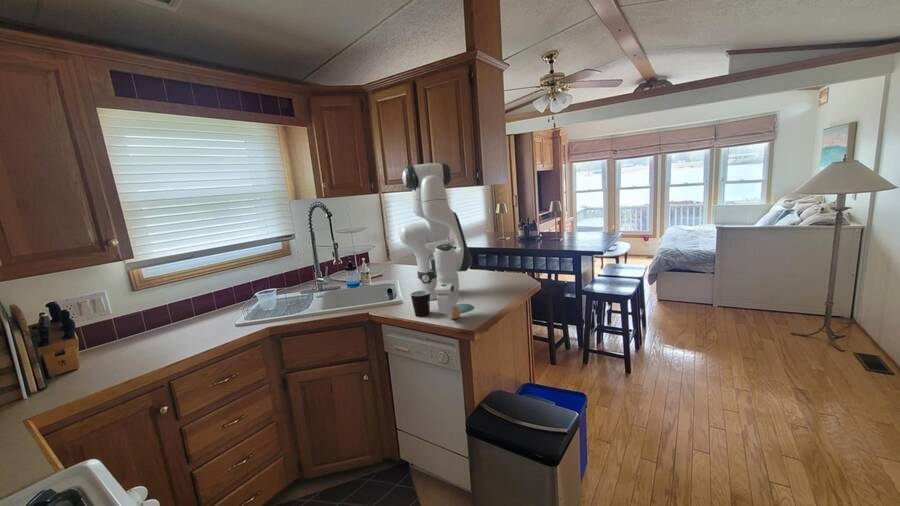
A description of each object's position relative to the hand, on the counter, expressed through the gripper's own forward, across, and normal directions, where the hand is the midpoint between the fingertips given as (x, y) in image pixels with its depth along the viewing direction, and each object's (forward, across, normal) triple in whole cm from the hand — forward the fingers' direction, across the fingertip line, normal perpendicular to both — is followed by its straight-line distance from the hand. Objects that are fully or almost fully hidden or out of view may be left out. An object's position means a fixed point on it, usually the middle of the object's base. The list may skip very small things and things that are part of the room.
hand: (451, 317), depth 151 cm
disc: (+2, -17, 0) cm, 17 cm away
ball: (-1, -4, 0) cm, 4 cm away
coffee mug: (+2, -10, -15) cm, 18 cm away
